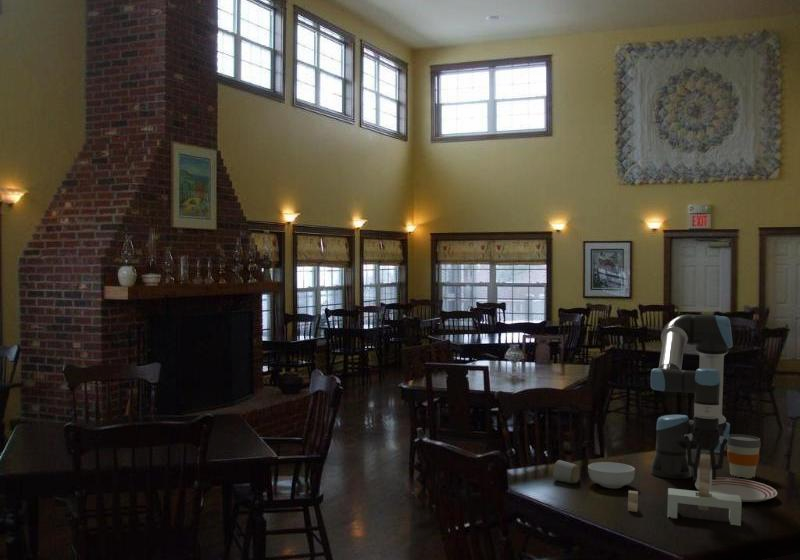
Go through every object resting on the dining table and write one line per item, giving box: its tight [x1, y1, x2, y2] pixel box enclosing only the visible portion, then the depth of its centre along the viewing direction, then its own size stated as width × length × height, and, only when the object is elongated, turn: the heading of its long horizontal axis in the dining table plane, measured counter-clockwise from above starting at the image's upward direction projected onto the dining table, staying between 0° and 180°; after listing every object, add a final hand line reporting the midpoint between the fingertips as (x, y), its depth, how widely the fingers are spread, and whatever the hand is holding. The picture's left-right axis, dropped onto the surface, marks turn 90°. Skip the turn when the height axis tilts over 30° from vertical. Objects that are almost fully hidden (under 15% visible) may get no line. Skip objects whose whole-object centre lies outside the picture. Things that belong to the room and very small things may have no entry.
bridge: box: [666, 487, 743, 527], centre depth 263 cm, size 8×22×8 cm, turn 72°
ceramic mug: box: [552, 459, 581, 485], centre depth 305 cm, size 11×8×8 cm
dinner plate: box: [694, 476, 778, 503], centre depth 292 cm, size 28×27×3 cm
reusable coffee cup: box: [726, 434, 762, 479], centre depth 321 cm, size 12×13×15 cm
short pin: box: [627, 490, 639, 513], centre depth 270 cm, size 3×3×6 cm
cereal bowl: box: [587, 461, 636, 489], centre depth 300 cm, size 17×17×7 cm
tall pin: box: [697, 451, 711, 512], centre depth 263 cm, size 3×3×18 cm
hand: (704, 488), depth 263 cm, fingers closed on tall pin, 3 cm apart
